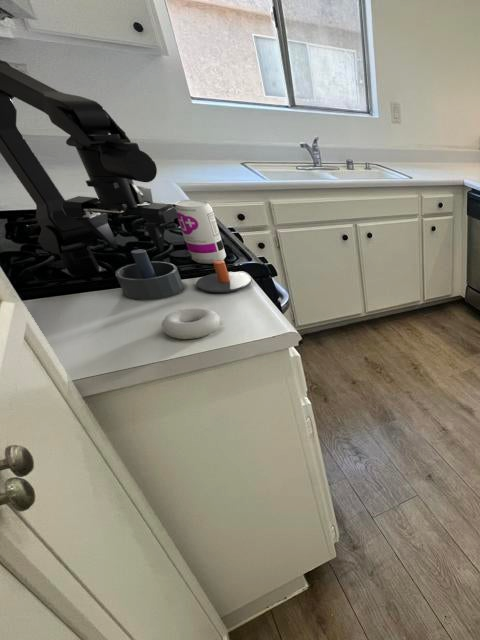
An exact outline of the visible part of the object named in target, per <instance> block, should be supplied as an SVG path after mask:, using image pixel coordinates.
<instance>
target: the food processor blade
mask: <svg viewBox="0 0 480 640" xmlns="http://www.w3.org/2000/svg"><path fill="white" fill-rule="evenodd" d="M130 253H131V256H132V258H133V260H134V262H135V263H136V265H137V267H138V269H139V271H140V274H141V276H142V278H143V279H147V278H155V277H156V274H155V272H154V270H153V267H152V265H151V261H150V260H151V259H150V257H149V255H148V253H147V251H146V250H145V249H143V248H141V249H140V248H138V249H133V250H131V251H130Z"/></svg>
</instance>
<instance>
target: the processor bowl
mask: <svg viewBox="0 0 480 640" xmlns="http://www.w3.org/2000/svg"><path fill="white" fill-rule="evenodd" d="M150 262H151V265H152V267H153V270H154V272H155V274H156V277H155V278H147V279H143V278H142V276H141V274H140V271H139V269H138V267H137V265H136V262H135V263H131V264H127V265H124V266H122V267H119V268H118V269H117V270H115V272H114V273H115V277H116V280H117V282H118V283H119V286H120V287H121V290H122V292H123V294H124V296H125V297H127V298H130V299H132V300H137V301H138V300H139V301H151V300H160V299H165V298H169V297H173V296H175V295H177V294H179V293H181V292H182V291H183V290H184V288H185V287H184V284H183V283H184V282H183V281H182V278H181V275H180V272H179V270H178V267H177V265H175V264H173V263H171V262H166V261H153V260H152V261H150Z"/></svg>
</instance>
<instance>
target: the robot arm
mask: <svg viewBox="0 0 480 640" xmlns="http://www.w3.org/2000/svg"><path fill="white" fill-rule="evenodd" d="M14 98H15V99H17V100H20V101H21V102H23V103H25V104H27V105H29V106H31V107H33V108H35V109H36V110H38V111H41V112H43V113H44V114H46V115H47V116H48V118H49V120H50V123H51V124H53V125H55V126H56V127H57V128H59V129H60V130H62V131H63V132H65V133H66V134H67V135H69V137H68V138H67V139H66V141H65V144H66V145H67V146H69V147H74V148H75V149H76V151H77V154H78V156H79V158H80V161H81V163H82V165H83V167H84V169H85V172H86V174H87V176H88V178H89V179H88V180H85V183H86V186H87V187H88V188H89V187H91V188H93V190H94V191H95V194H96V196H97V197H95V196H92V197H91V196H81V195H77V196H75V197H71V198H68V199H65V198H64V196H63V195H62V193H61V191H60V190H59V188H58V187H57V185H56V184H55V183H54V181H53V180H52V178H51V176H50V175H49V174H48V172H47V171H46V169H45V167H44V166H43V164H42V163H41V161H40V159H39V158H38V156H37V155H36V154H35V152H34V151H33V149H32V147H31V146H30V145H29V143H28V141H27V140H26V138H25V137H24V135H23V134H22V132H21V131H20V129H19V128H18V125H17V117H18V116H17V115H18V111H17V108H16V106H15V104H14V102H13V101H12V100H13V99H14ZM0 155H1V156H2V158H3V159H4V161H5V162H6V164H7V165H8V166H9V168H10V169H11V170H12V173H13V174H14V175H15V176H16V178H17V179H18V181H19V183H20V184H21V185H22V186H23V188H24V190H25V191H27V194H28V195H29V197H30V198H31V199H32V201H33V202H34V204H35V206H36V208H35V220H36V222H37V223H38V225H39V227H40V229H41V230H40V233H39V235H38V239H37V243H38V244H39V245H40V247H41V248H42V249H43V250H44V251H46V252H50V253H55V254H58V256H59V258H60V259H61V261H62V263H63V265H64V267H65V268H63V269H62V268H61V273H63V274H65V275H67V276H69V277H71V278H73V279H81V278H86V277H89V276H94V275H99V274H104V273H107V272H108V270H107V268H104V267H102V266H100V265H99V264H98V262H97V260H96V258H95V256H94V254H93V251H92V250H91V247H92V246H95V245H97V246H98V245H99V239H98V238H100V239H101V240H102V241H103V242H105V243H106V244H107V245H108V246H109V247H110V248H111V249H114V250H115V249H117V248H118V247H119V246H118V243H117V241H116V238H115V235H114V233H113V231H112V229H111V226H110V225H109V223H108V217H109V215H108V214H112V215H124V216H134V217H135V216H138V217H141V218H142V220H144V221H145V223H143V227H144V228H145V230H146V231H147V234H148V235H149V237H150V239H151V241H152V243H153V245H154V247H155V248H156V250H157V251H158V253H162V252H164V249H165V248H164V247H165V232H166V227H167V225H168V224H169V223H171V222H173V221H174V220H176V219H177V217H179V216H178V214H177V211H176V209H175V206H173V205H172V204H171V203H162V202H154V201H153V200H154V199H153V194H152V189H151V188H148V187H146V186H145V187H144V186H140V185H136V184H135V183H134V181H135V182H141V183H151V182H152V181H154V180H155V178H156V177H157V173H158V168H157V165H156V162H155V161H154V160H153V158H152V157H151V156H150V155H149V154H148V153H146V152H145V151H143V150H141V149H140V147H139V144H138V143H136V142H132V141H131V139H130V138H129V137H128V135H126V132H125V131H124V129H122V128H121V127H120V126H119V125H118V124H117V122H116V121H115V120H114V119H113V118H112V116H111V115H110V114H109V113H108V111H106V110H105V108H104V107H103V106H102V105H101V104H100V103H99V102H97V101H96V100H92V99H90V98H86V97H84V96H79V95H75V94H71V93H65V92H61V91H60V90H57V89H55V88H53V87H51V86H49V85H47V84H45V83H43V82H42V81H40V80H37V78H34V77H32V76H30V75H28V74H26V73H25V72H22V71H21V70H18V69H17V68H14V67H12V65H10V64H9V63H8V62H7V61H5V60H2V59H0ZM145 203H147V204H146V205H144V206H139V205H143V204H145Z"/></svg>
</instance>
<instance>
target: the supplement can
mask: <svg viewBox="0 0 480 640" xmlns="http://www.w3.org/2000/svg"><path fill="white" fill-rule="evenodd" d="M174 204H175V206H174V208H175V209H176V211H177V214H178V216H179V217H177V218H176V219H177V222H178V225H179V228H180V231H181V233H182V235H183V239H184V241H185V244H186V247H187V250H188V254H189V256H190V259H191V260H193V261H194V262H196V263H198V264H203V265H205V264H206V265H207V264H210V265H211V264H213V261H215V260H223V261H225V258H226V257H227V253H226V251H225V247H224V244H223V240H222V237H221V234H220V230H219V226H218V223H217V220H216V216H215V213H214V210H213V208H212V206H211V205H210V204H209V203H208V201H206V200H202V199H182V200H178V201H176V202H175V203H174Z"/></svg>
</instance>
